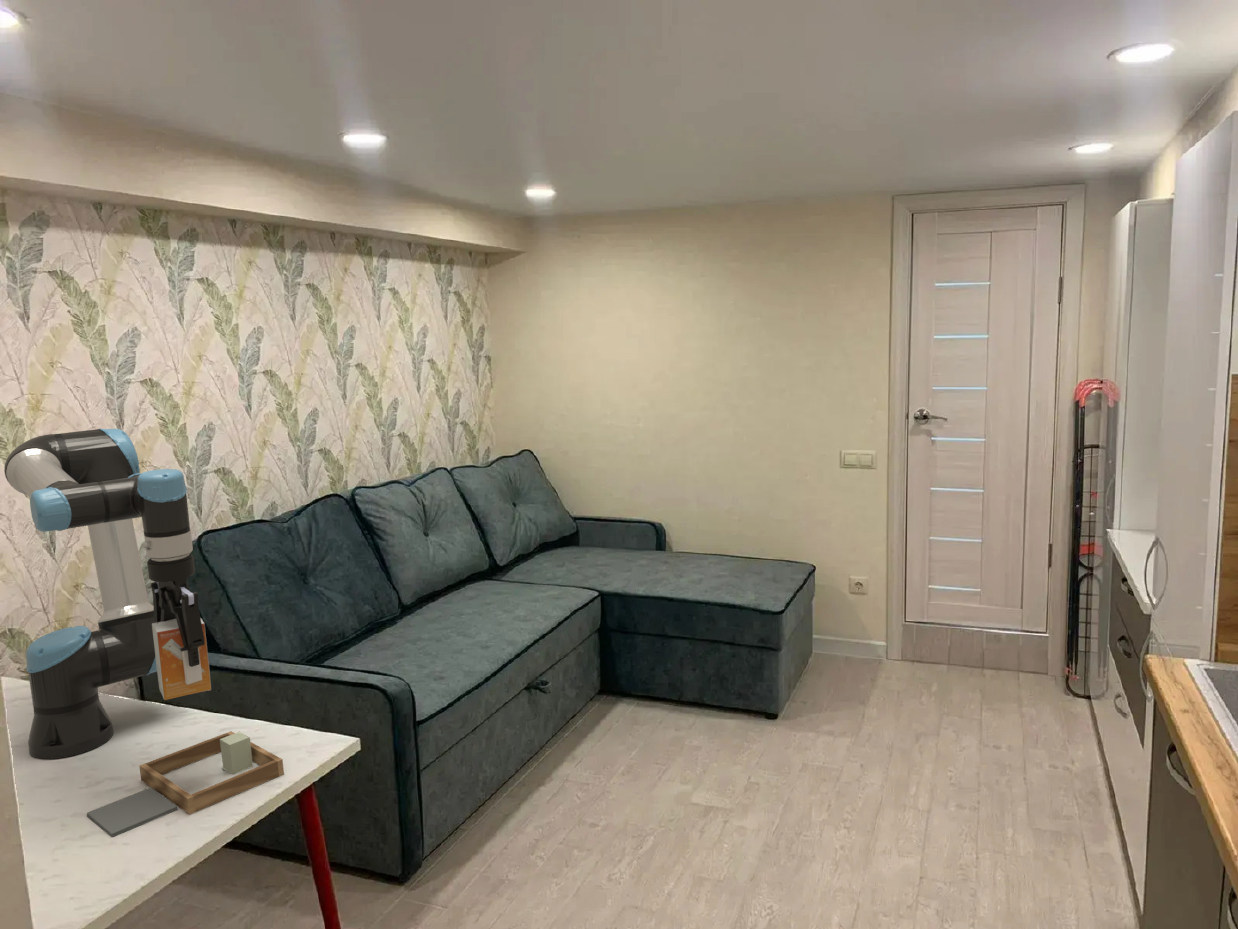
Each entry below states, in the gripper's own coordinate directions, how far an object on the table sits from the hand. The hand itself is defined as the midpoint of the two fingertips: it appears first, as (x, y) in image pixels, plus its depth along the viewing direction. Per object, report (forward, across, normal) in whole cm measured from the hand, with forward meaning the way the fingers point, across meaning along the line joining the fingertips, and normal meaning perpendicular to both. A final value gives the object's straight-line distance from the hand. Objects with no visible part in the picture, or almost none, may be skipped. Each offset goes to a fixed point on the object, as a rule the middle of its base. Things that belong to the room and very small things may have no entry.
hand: (183, 676), depth 170 cm
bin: (+21, 0, +3) cm, 21 cm away
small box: (+3, 0, 0) cm, 3 cm away
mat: (+21, +2, -12) cm, 24 cm away
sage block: (+21, 0, +8) cm, 23 cm away
